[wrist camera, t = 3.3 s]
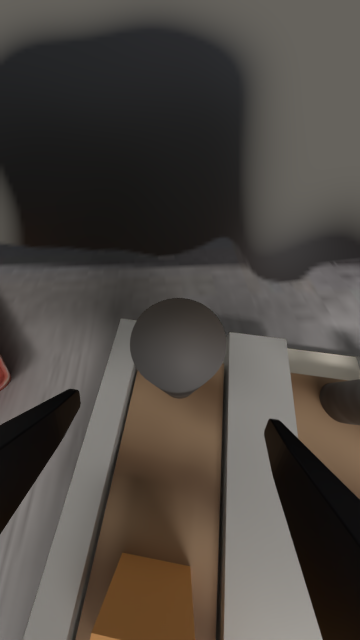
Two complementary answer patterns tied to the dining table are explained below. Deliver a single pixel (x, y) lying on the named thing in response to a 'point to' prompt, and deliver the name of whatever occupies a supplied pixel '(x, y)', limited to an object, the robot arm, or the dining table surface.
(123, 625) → the orange cube
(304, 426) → the walnut strip
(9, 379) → the plant saucer
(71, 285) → the dining table surface
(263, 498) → the lane board
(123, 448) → the walnut strip
